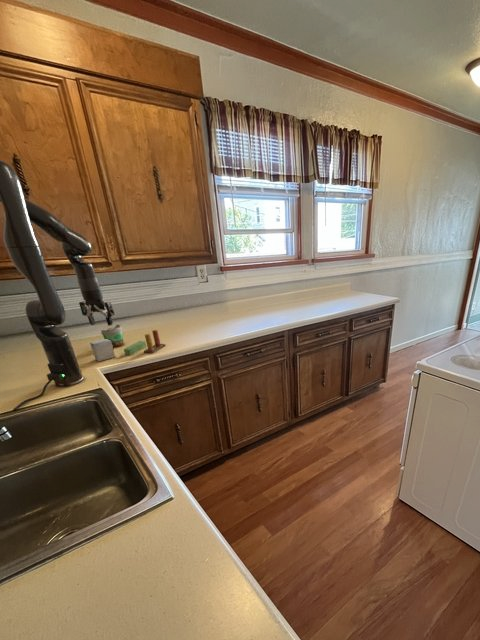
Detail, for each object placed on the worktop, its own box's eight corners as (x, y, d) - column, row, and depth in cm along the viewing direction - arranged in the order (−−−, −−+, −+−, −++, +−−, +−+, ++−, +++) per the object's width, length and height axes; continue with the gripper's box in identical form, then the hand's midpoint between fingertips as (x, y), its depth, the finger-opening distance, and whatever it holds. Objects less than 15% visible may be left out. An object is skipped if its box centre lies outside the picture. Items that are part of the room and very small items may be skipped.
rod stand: (165, 345, 177) (161, 329, 172) (153, 353, 166) (149, 336, 162) (156, 345, 177) (153, 329, 173) (144, 352, 167) (140, 335, 163)
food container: (116, 349, 172) (110, 331, 167) (105, 349, 173) (100, 330, 168) (131, 342, 182) (126, 324, 178) (121, 341, 183) (116, 324, 179)
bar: (146, 346, 176) (144, 340, 175) (130, 355, 164) (129, 349, 163) (141, 346, 177) (139, 340, 175) (125, 354, 164) (123, 349, 163)
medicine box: (111, 355, 164) (106, 338, 160) (115, 357, 161) (110, 340, 157) (95, 359, 159) (89, 342, 155) (99, 361, 156) (93, 344, 152)
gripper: (68, 289, 139) (82, 326, 147) (99, 290, 137) (110, 327, 145) (81, 286, 145) (93, 322, 153) (110, 286, 143) (121, 323, 151)
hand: (101, 324), depth 149 cm, fingers open, 8 cm apart
